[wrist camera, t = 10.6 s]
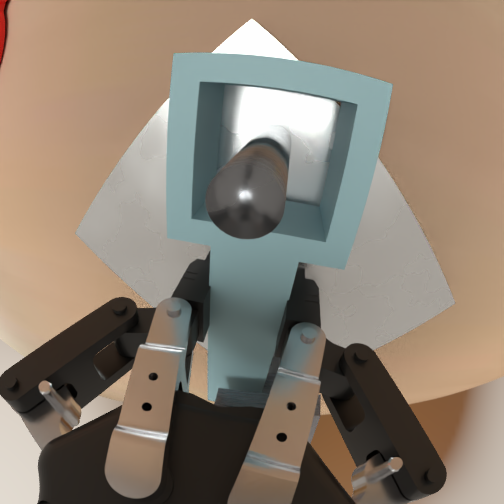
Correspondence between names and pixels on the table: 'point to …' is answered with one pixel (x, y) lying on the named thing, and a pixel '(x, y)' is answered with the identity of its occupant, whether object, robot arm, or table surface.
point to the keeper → (257, 400)
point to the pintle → (252, 186)
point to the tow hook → (2, 26)
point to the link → (295, 214)
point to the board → (298, 190)
